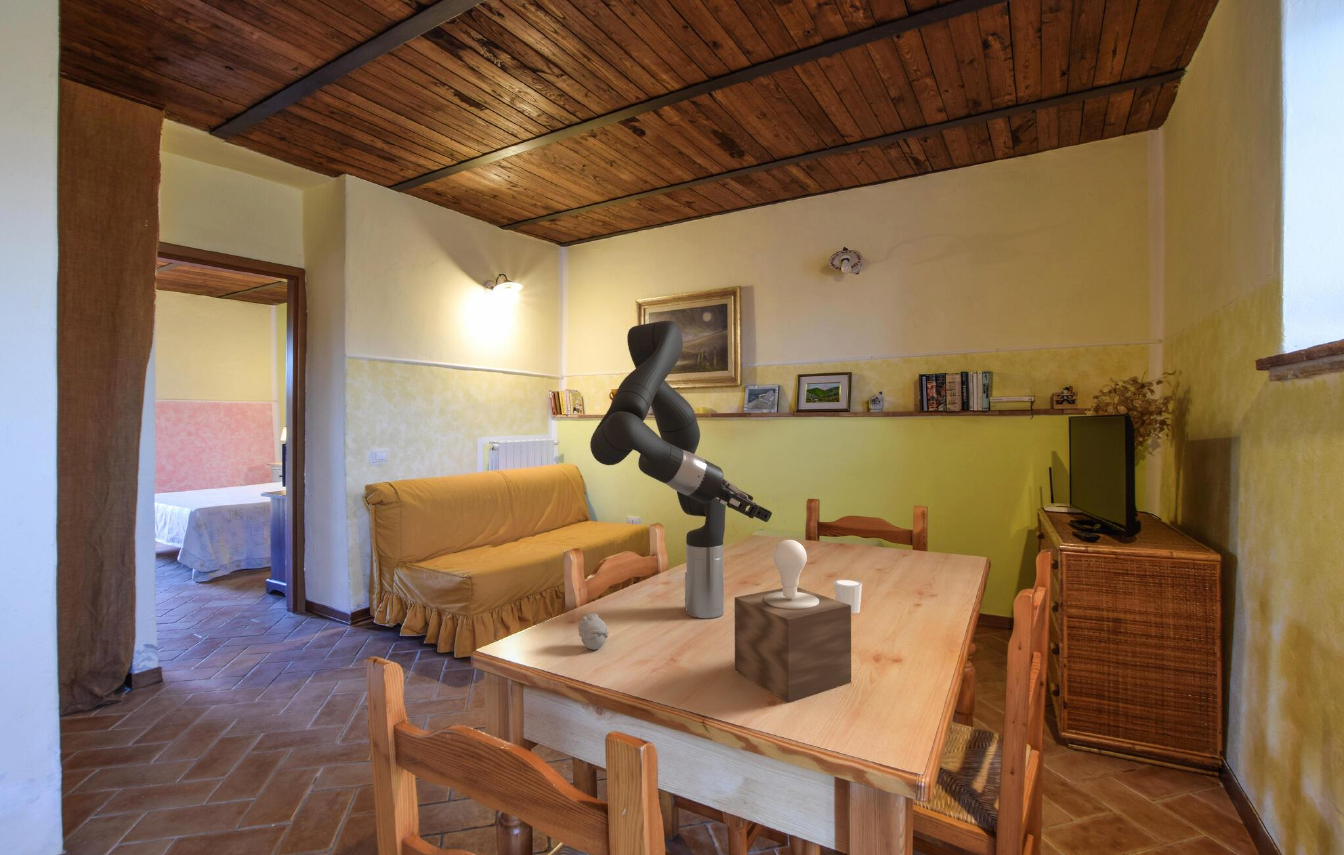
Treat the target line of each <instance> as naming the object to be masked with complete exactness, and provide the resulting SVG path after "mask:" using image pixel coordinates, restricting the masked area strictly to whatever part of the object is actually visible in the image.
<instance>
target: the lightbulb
mask: <svg viewBox="0 0 1344 855" xmlns="http://www.w3.org/2000/svg"><path fill="white" fill-rule="evenodd" d="M807 555H808V554H807V551H806V549H805V547H804V546H803V545H802V544H801V543H800V542H799V541H796V540H794V539H786V540H782V541H780V542H779V543H778V544H776V546H775V548H774V549H773V554H772V558H773V562H774V564H775V567H776V569H777V570H778V574H779V575H780V581H781V582H780V583H781V586H782V588H783V596H785V597H786V598H787V599H793V598H794V597H796V596H797V587H798V586H799V580H800V575H801V572H802V571H803V570H804V568H805V565H806V563H807V560H808V558H807V557H808V556H807Z"/></svg>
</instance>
